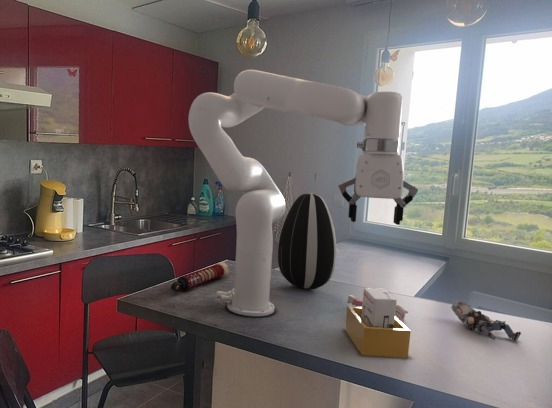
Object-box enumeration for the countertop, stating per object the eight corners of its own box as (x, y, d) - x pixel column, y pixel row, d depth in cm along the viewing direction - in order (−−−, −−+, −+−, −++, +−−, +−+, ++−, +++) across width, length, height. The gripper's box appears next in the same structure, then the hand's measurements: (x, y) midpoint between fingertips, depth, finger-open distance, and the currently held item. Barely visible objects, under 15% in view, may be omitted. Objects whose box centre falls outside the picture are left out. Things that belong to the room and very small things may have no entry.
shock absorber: (181, 285, 127) (235, 265, 152) (169, 275, 129) (225, 257, 154) (175, 298, 129) (230, 276, 154) (164, 289, 131) (220, 269, 156)
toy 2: (486, 337, 104) (437, 306, 118) (508, 358, 109) (459, 326, 123) (505, 314, 104) (454, 286, 118) (527, 336, 109) (475, 306, 122)
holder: (361, 355, 96) (364, 327, 95) (345, 330, 109) (347, 306, 108) (407, 358, 95) (410, 330, 95) (385, 332, 109) (387, 308, 108)
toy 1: (340, 313, 122) (396, 337, 113) (344, 294, 120) (401, 316, 111) (353, 302, 128) (407, 323, 119) (356, 283, 126) (412, 304, 117)
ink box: (357, 334, 107) (362, 286, 105) (379, 336, 106) (383, 287, 105) (369, 350, 98) (374, 298, 97) (392, 352, 98) (397, 299, 97)
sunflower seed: (337, 290, 143) (345, 195, 139) (327, 297, 134) (336, 197, 131) (282, 278, 152) (288, 190, 149) (269, 285, 144) (276, 191, 140)
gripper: (343, 146, 100) (337, 222, 102) (426, 149, 98) (418, 227, 100) (339, 146, 108) (334, 218, 110) (416, 149, 105) (409, 222, 107)
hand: (374, 222), depth 105 cm, fingers open, 9 cm apart
